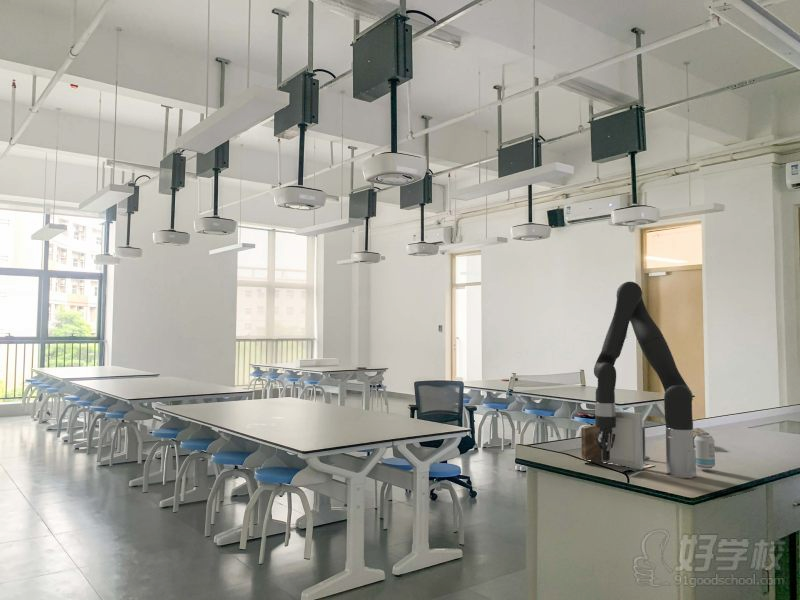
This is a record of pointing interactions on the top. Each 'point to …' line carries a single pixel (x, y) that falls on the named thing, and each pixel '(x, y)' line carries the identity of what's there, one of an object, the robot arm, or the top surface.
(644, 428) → the bookend
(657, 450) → the top surface
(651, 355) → the robot arm
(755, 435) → the top surface
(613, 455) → the picture frame
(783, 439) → the top surface
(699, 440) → the beverage can
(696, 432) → the pumice stone
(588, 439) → the shelf back
